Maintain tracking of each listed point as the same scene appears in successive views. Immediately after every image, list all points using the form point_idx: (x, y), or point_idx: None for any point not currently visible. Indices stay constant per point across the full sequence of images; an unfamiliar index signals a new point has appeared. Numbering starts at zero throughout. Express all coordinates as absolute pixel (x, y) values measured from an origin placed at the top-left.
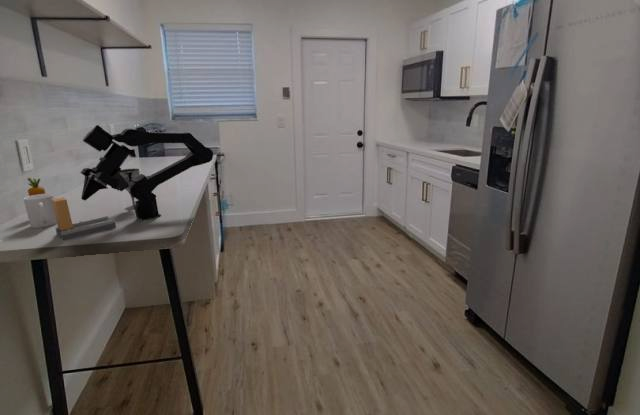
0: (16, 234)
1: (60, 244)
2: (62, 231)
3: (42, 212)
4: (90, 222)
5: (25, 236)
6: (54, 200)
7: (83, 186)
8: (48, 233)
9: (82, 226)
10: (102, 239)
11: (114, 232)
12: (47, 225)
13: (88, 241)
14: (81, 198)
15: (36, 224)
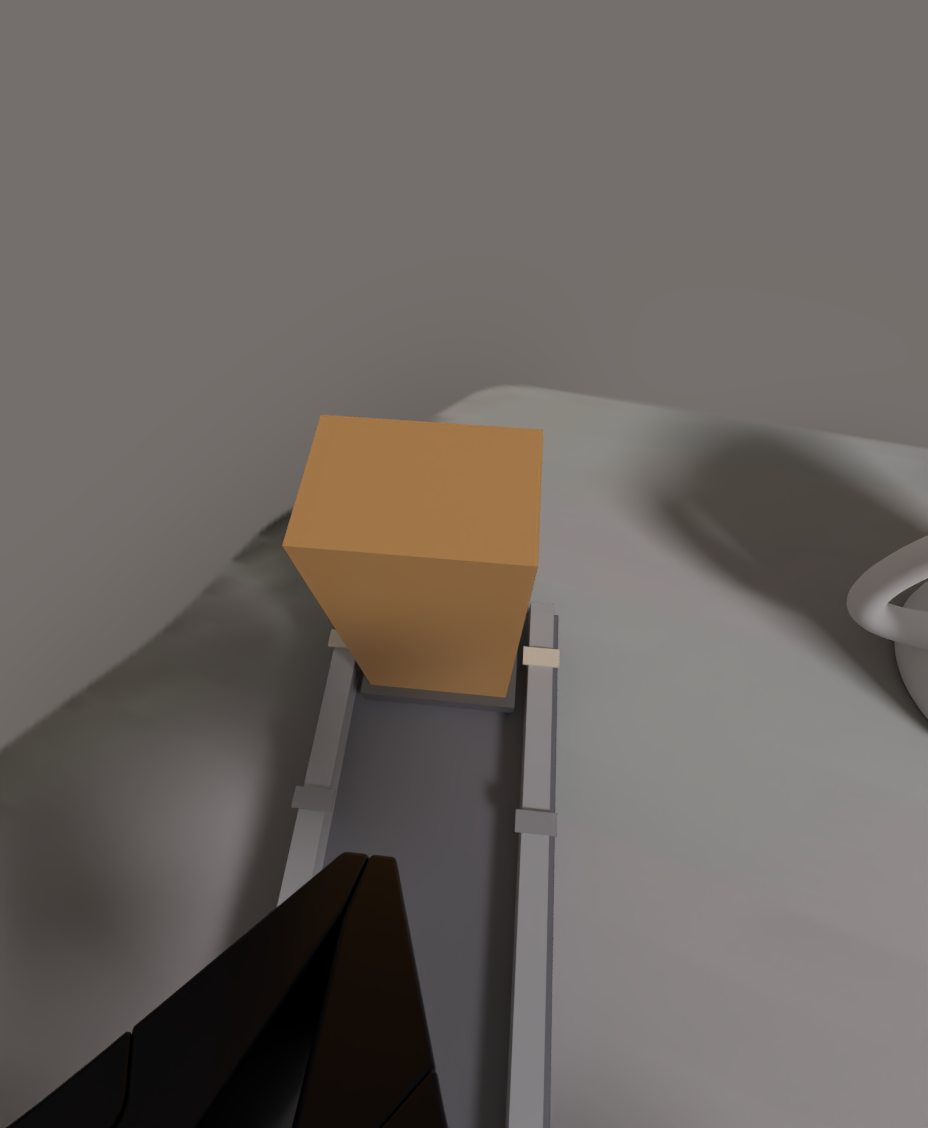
0: (817, 476)
1: (279, 569)
2: None
3: (898, 557)
4: (515, 925)
5: (707, 496)
6: (410, 432)
7: (443, 1125)
8: (653, 604)
9: (460, 806)
10: (42, 803)
11: (97, 992)
12: (899, 658)
13: (126, 710)
14: (379, 855)
15: (926, 585)
